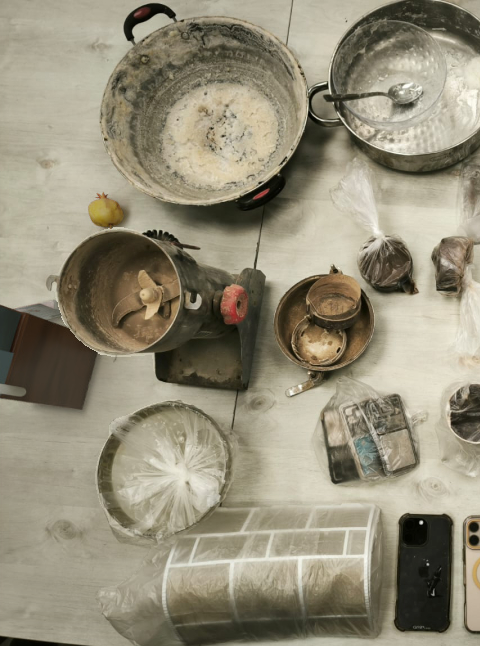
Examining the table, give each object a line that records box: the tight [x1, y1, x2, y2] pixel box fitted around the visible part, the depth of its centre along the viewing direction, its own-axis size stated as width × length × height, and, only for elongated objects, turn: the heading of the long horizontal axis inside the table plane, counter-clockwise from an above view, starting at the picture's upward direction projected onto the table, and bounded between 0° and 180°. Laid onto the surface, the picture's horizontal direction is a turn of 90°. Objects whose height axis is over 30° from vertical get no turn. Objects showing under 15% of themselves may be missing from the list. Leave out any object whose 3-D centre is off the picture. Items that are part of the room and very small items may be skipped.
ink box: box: [13, 299, 63, 320], centre depth 119 cm, size 2×11×10 cm, turn 104°
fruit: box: [87, 191, 124, 230], centre depth 126 cm, size 7×7×10 cm
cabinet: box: [0, 304, 99, 410], centre depth 105 cm, size 10×16×34 cm, turn 173°
